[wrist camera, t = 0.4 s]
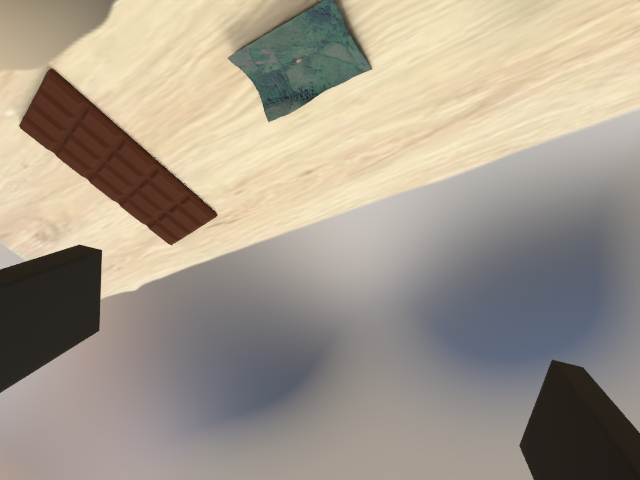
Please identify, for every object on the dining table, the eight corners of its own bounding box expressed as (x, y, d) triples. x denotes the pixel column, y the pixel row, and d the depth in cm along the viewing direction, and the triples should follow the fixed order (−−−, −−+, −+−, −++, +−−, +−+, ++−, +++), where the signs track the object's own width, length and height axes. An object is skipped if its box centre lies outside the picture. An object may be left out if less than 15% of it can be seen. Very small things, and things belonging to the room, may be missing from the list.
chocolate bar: (21, 123, 56) (16, 127, 55) (51, 68, 48) (45, 71, 47) (173, 243, 68) (170, 247, 67) (217, 214, 59) (214, 219, 59)
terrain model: (335, -12, 34) (331, -5, 33) (373, 68, 39) (370, 77, 37) (230, 52, 41) (223, 60, 40) (273, 114, 45) (268, 123, 44)
